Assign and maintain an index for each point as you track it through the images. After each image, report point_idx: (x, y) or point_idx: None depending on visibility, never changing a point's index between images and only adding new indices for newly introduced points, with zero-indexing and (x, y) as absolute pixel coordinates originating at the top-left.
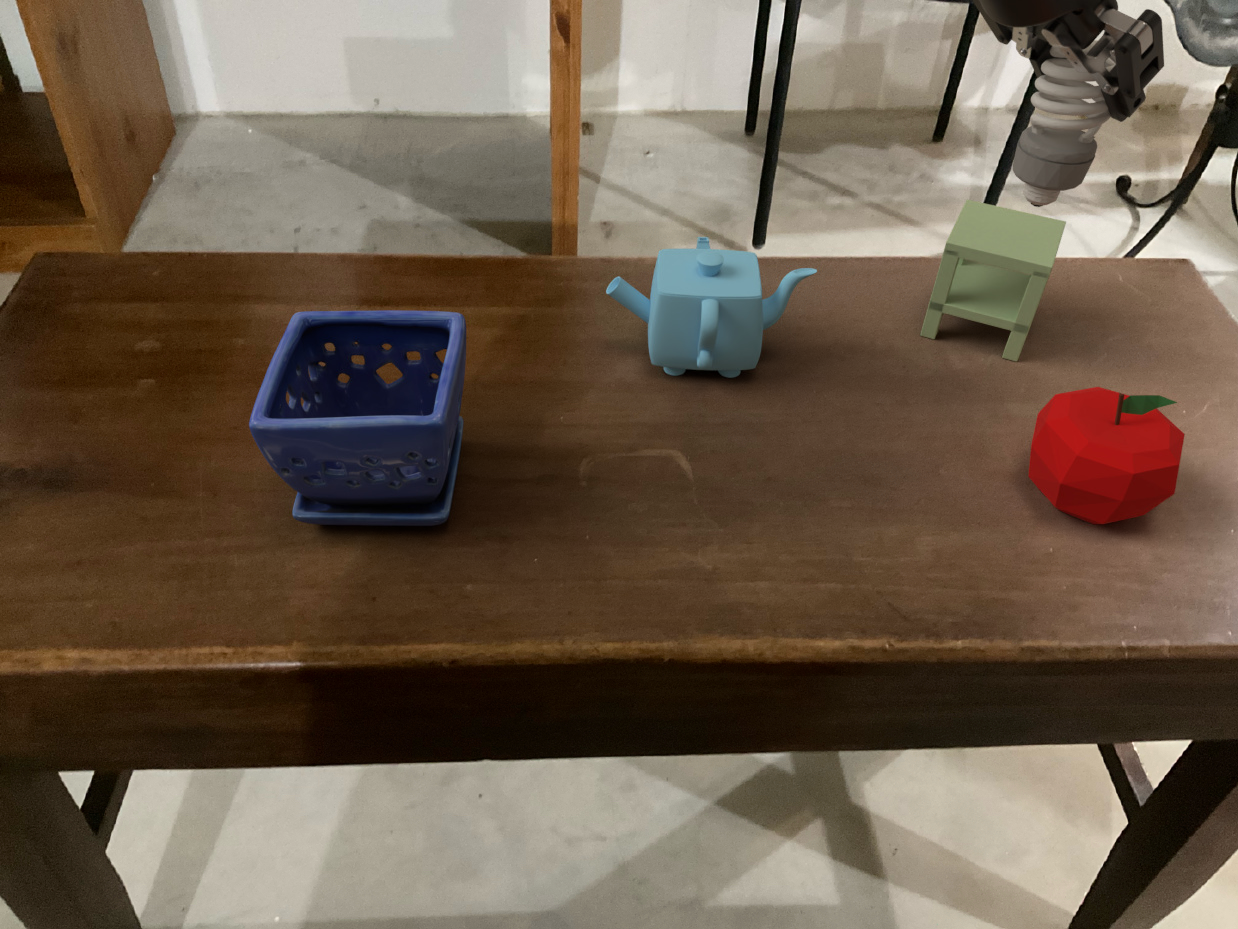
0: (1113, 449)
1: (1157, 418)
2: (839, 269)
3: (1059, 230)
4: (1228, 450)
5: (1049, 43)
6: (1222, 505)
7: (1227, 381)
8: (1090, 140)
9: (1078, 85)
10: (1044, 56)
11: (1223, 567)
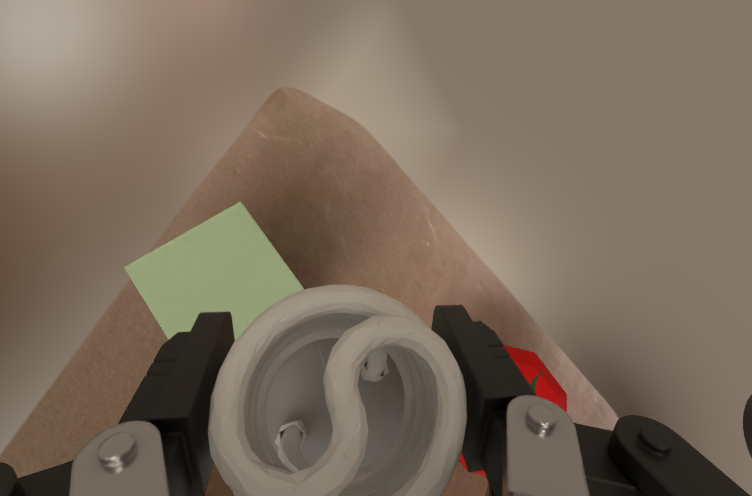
0: None
1: (522, 369)
2: (65, 378)
3: (251, 224)
4: (475, 253)
5: (187, 447)
6: (521, 310)
7: (412, 182)
8: (387, 370)
9: (293, 338)
10: (204, 454)
11: (571, 366)
